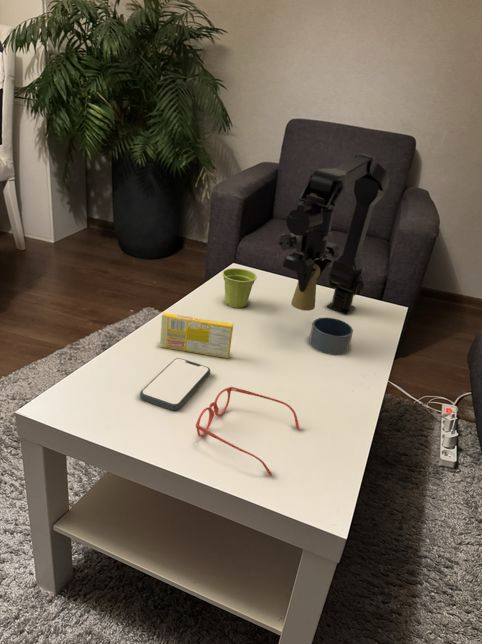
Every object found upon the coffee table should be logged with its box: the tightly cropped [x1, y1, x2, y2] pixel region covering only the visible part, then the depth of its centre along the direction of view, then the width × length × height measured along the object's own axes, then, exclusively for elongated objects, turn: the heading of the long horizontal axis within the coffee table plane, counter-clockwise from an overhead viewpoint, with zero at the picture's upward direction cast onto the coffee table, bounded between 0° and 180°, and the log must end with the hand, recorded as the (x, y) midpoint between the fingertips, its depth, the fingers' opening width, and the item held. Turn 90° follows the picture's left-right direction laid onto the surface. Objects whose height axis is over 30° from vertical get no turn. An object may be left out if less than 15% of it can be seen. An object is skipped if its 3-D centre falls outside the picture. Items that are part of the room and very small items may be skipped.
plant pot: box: [221, 267, 258, 309], centre depth 148 cm, size 9×9×9 cm
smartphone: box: [139, 357, 211, 411], centre depth 111 cm, size 9×2×16 cm
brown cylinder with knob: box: [290, 264, 320, 312], centre depth 132 cm, size 6×6×11 cm
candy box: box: [159, 312, 234, 359], centre depth 122 cm, size 16×2×8 cm, turn 84°
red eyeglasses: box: [195, 386, 300, 476], centre depth 99 cm, size 17×16×5 cm
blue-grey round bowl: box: [308, 317, 354, 355], centre depth 135 cm, size 10×10×5 cm
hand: (306, 288), depth 133 cm, fingers closed on brown cylinder with knob, 4 cm apart
